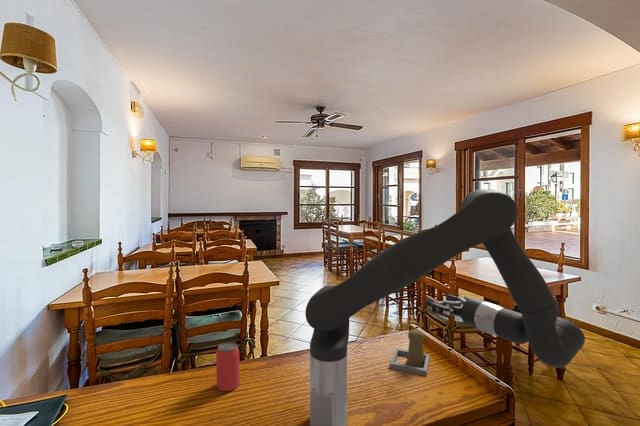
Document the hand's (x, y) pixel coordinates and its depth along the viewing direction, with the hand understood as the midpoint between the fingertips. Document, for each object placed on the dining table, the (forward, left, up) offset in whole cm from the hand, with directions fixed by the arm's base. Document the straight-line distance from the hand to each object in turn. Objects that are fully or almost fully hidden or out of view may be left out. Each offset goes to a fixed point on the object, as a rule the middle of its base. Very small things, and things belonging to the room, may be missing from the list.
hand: (436, 299), depth 95 cm
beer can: (-28, +57, -25) cm, 68 cm away
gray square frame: (+7, +9, -25) cm, 27 cm away
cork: (+8, +7, -25) cm, 27 cm away
